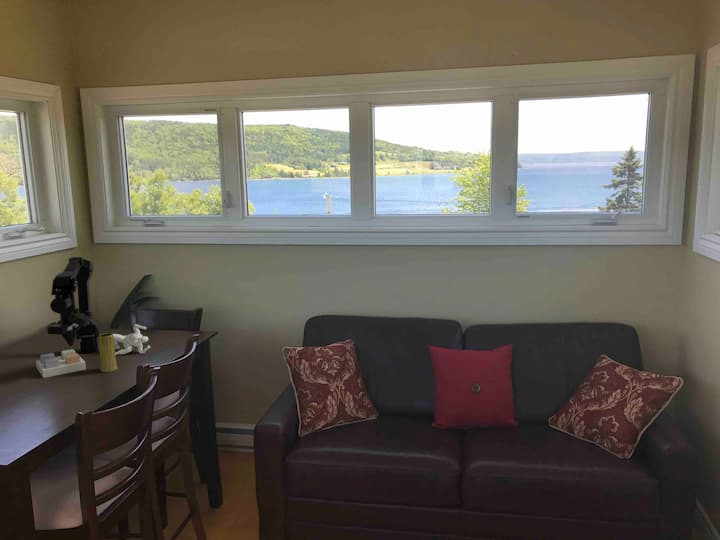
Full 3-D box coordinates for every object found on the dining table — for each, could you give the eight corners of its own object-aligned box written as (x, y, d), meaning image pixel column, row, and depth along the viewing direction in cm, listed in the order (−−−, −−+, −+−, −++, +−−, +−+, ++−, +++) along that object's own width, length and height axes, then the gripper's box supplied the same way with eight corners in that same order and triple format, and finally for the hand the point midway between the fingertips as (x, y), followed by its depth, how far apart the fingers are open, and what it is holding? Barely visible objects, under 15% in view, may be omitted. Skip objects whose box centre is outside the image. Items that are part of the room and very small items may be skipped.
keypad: (77, 360, 235) (76, 353, 234) (86, 369, 223) (85, 362, 223) (36, 367, 226) (35, 360, 225) (43, 377, 214) (42, 370, 214)
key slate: (53, 359, 228) (52, 352, 227) (55, 362, 224) (54, 355, 224) (41, 361, 225) (40, 354, 225) (42, 364, 222) (42, 357, 221)
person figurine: (100, 333, 236) (144, 322, 241) (105, 332, 248) (147, 321, 253) (107, 363, 236) (152, 351, 241) (113, 360, 248) (155, 349, 253)
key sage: (73, 355, 232) (72, 349, 232) (75, 358, 229) (75, 351, 228) (61, 357, 230) (61, 351, 229) (64, 360, 226) (63, 353, 226)
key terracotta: (77, 360, 226) (77, 353, 226) (80, 362, 223) (79, 355, 222) (65, 362, 224) (64, 355, 223) (67, 365, 220) (67, 358, 220)
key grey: (56, 363, 222) (56, 357, 221) (59, 366, 218) (58, 359, 218) (44, 366, 219) (43, 359, 219) (46, 369, 216) (45, 362, 215)
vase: (99, 373, 219) (96, 337, 216) (102, 368, 224) (98, 333, 222) (116, 371, 220) (113, 336, 218) (118, 366, 226) (115, 332, 224)
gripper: (71, 313, 210) (75, 353, 212) (100, 302, 228) (103, 339, 230) (44, 312, 211) (48, 352, 214) (74, 301, 229) (78, 338, 232)
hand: (71, 345), depth 222 cm, fingers closed
